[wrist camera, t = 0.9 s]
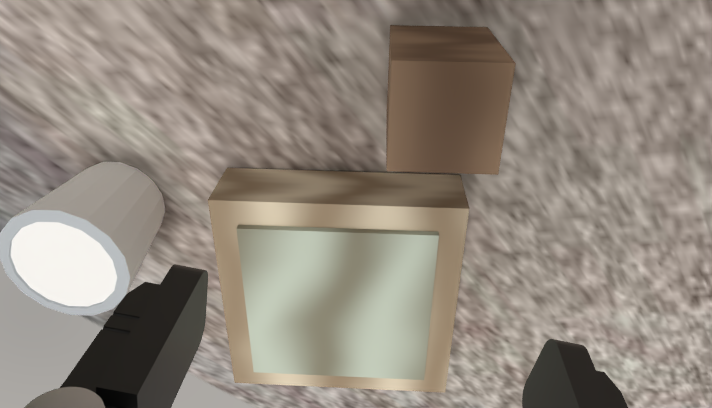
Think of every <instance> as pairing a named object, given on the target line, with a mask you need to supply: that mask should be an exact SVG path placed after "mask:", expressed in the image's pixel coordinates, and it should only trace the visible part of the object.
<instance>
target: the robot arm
mask: <svg viewBox="0 0 712 408" xmlns="http://www.w3.org/2000/svg"><path fill="white" fill-rule="evenodd" d="M207 286H208V272H207V271H206V270H201V269H196V268H191V267H186V266H181V265H176V264H175V265H173V266H172V267H171V269H170V270H169V272H168V273H167V275H166V276H165V278H164V280H163V281H162V283H161V284H160V285H159V284H153V283H148V282H144V283H143V284H141V285H140V286H138V287H137V288H135V289H134V290H132V291H131V292H129V293H128V294H126V295H125V297H124V298H123V299H122V301H121V302H120V304H119V305H118V307H117V308H116V309H115V311H114V313H113V316H112V315H111V316H110V318H109V319H108V321H107V322H106V324H105V325H104V328H103V330H101V331H100V332H99V334H98V335H97V336H96V338H95V339H94V341H93V342H92V343H91V345H90V346H89V348H88V349H87V351H86V352H85V353H84V355H83V356H82V358H81V359H80V361H79V362H78V363H77V365H76V366H75V368H74V369H73V370H72V372H71V373H70V375H69V376H68V378H67V379H66V381H65V382H64V383H63V384H62V386H61V387H60V388H58V389H54V390H52V391H49V392H46V393H44V394H42V395H40V396H38V397H37V398H35V399H34V400H32V401H31V402H30V403H29V404H27V405H26V406H25V407H24V408H171V406H172V404H173V402H174V399H175V397H176V395H177V393H178V391H179V389H180V386H181V384H182V382H183V380H184V378H185V375H186V373H187V371H188V369H189V367H190V365H191V362H192V360H193V358H194V356H195V354H196V351H197V349H198V347H199V344H200V342H201V339H202V335H203V331H204V326H205V319H206V302H207ZM522 406H523V408H628V407H627V404H626V402H625V400H624V398H623V395H622V393H621V391H620V390H619V389H618V388H617V387H616V386H615V384H614V383H613V382H612V381H611V380H610V379H609V377H608V376H607V375H606V374H605V373H604V372H600V371H596V370H595V367H594V365H593V363H592V360H591V358H590V355H589V353H588V351H587V349H586V348H585V347H584V346H583V345H579V344H574V343H569V342H564V341H559V340H554V339H550V340H548V341H547V342H546V343H545V345H544V347H543V349H542V351H541V353H540V355H539V357H538V359H537V361H536V363H535V365H534V367H533V369H532V371H531V373H530V375H529V377H528V379H527V381H526V383H525V386H524V390H523V398H522Z"/></svg>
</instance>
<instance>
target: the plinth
mask: <svg viewBox="0 0 712 408" xmlns="http://www.w3.org/2000/svg"><path fill="white" fill-rule="evenodd" d="M208 204H209V211H210V218H211V225H212V232H213V238H214V245H215V252H216V259H217V266H218V272H219V279H220V286H221V293H222V300H223V306H224V313H225V320H226V327H227V334H228V341H229V347H230V354H231V361H232V368H233V375H234V381H235V383H254V384H275V385H296V386H318V387H339V388H360V389H382V390H403V391H425V392H445V389H446V381H447V374H448V366H449V358H450V351H451V343H452V336H453V328H454V321H455V313H456V305H457V298H458V290H459V283H460V275H461V267H462V260H463V252H464V245H465V237H466V230H467V222H468V214H469V206H468V202H467V198H466V195H465V191H464V187H463V183H462V180H461V176H460V175H445V174H412V173H380V172H347V171H314V170H282V169H249V168H227V169H226V171H225V172H224V174H223V176H222V177H221V179H220V181H219V182H218V184H217V186H216V187H215V189H214V191H213V192H212V194H211V196H210V197H209V199H208Z"/></svg>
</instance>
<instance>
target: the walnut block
mask: <svg viewBox="0 0 712 408" xmlns="http://www.w3.org/2000/svg"><path fill="white" fill-rule="evenodd" d="M514 70H515V62H514V61H513V59H512V58H511V57H510V56H509V54H508V53H507V52H506V50H505V49H504V48H503V47H502V45H501V44H500V43H499V41H498V40H497V39H496V38H495V36H494V35H493V34H492V33H491V31H490V30H489V29H488V27H450V26H399V25H390V45H389V70H388V96H387V171H398V172H431V173H464V174H497V175H498V172H499V165H500V159H501V153H502V146H503V140H504V134H505V127H506V121H507V114H508V108H509V102H510V95H511V89H512V83H513V76H514Z"/></svg>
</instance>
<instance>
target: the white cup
mask: <svg viewBox="0 0 712 408" xmlns="http://www.w3.org/2000/svg"><path fill="white" fill-rule="evenodd" d="M164 214H165V205H164V200H163V195H162V193H161V192H160V190H159V189H158V187H157V186H156V184H155V183H154V181H153V180H152V179H151V178H149V177H148V176H147V175H145V174H144V173H143V172H142V171H140V170H139V169H137V168H135V167H132V166H129V165H127V164H124V163H121V162H101V163H98V164H96V165H93V166H91V167H88V168H87V169H85V170H84V171H82V172H81V173H79V174H78V175H76V176H75V177H73V178H72V179H70V180H69V181H67V182H66V183H64V184H62V185H61V186H59V187H58V188H56V189H55V190H53V191H52V192H50V193H49V194H47V195H46V196H44V197H43V198H41V199H40V200H38V201H37V202H35V203H34V204H32V205H31V206H29V207H28V208H26V209H25V210H23V211H22V212H20V213H19V214H17V215H16V216H14V217H13V218H11V220H10V221H9V222H8V223H7V225H6V226H5V227H4V229H3V230H2V231H1V232H0V260H1V262H2V265H3V267H4V270H5V272H6V274H7V275H8V277H9V278H10V279H11V280H12V281H13V282H14V283H15V284H16V286H17V287H18V288H19V289H20V290H21V291H22V292H23V293H24V294H26V295H27V296H29V297H30V298H32V299H33V300H35V301H37V302H38V303H40V304H41V305H43V306H45V307H47V308H50V309H53V310H56V311H59V312H63V313H66V314H69V315H96V314H99V313H102V312H105V311H108V310H111V309H113V308H114V307H115V306H116V305H117V304H118V303H119V302H120V301H121V300H122V299H123V298H124V297H125V295H126V294H127V293H128V291H129V289H130V287H131V285H132V283H133V281H134V279H135V277H136V275H137V273H138V271H139V269H140V266H141V264H142V262H143V260H144V258H145V256H146V254H147V252H148V250H149V248H150V246H151V244H152V242H153V240H154V238H155V236H156V234H157V232H158V230H159V228H160V226H161V224H162V221H163V218H164Z"/></svg>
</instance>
